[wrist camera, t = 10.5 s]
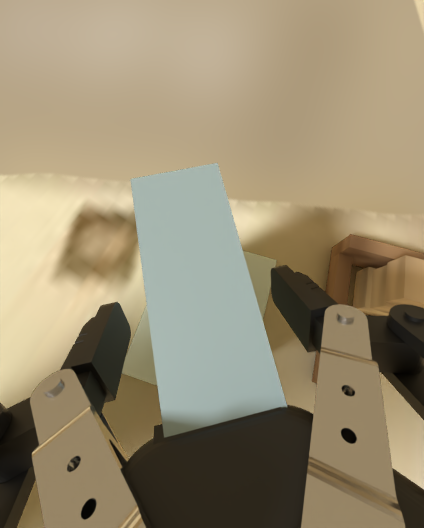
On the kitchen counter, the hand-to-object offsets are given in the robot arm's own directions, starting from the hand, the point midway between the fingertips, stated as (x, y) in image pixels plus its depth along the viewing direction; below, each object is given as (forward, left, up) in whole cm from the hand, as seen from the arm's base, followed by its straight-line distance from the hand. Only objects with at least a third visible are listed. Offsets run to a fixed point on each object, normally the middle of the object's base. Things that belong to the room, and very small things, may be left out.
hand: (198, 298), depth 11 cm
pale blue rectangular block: (+1, -1, -8) cm, 8 cm away
